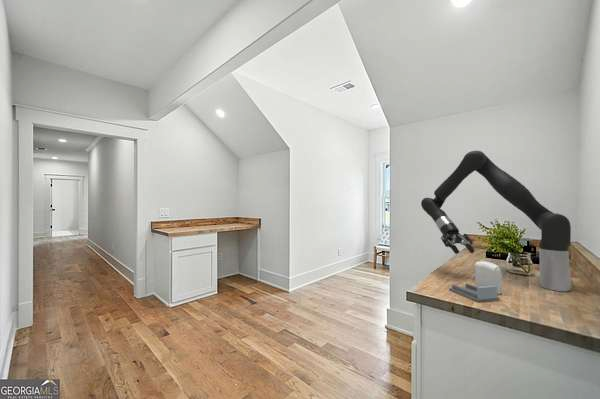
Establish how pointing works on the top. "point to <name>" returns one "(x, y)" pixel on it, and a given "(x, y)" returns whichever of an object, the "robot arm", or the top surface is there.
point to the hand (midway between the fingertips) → (465, 252)
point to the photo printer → (488, 275)
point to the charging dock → (477, 292)
